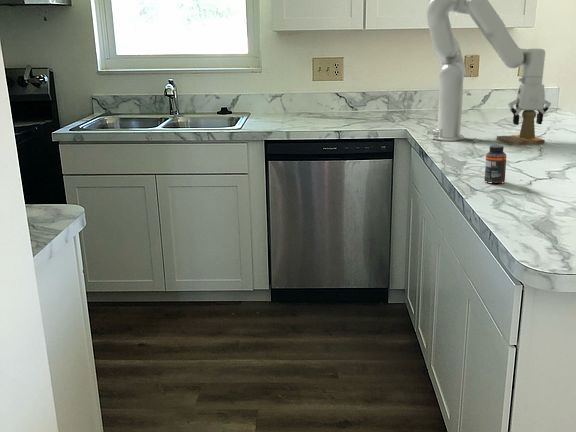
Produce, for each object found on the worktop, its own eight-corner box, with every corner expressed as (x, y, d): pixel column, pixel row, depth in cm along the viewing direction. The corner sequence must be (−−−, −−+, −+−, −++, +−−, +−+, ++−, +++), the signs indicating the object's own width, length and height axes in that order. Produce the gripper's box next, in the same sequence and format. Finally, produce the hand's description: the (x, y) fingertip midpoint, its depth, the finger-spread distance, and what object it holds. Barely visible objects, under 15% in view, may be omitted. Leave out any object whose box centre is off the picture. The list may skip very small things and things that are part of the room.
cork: (525, 139, 250) (527, 111, 247) (515, 136, 255) (518, 109, 252) (538, 138, 251) (540, 110, 248) (528, 135, 257) (531, 108, 254)
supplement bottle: (500, 179, 194) (503, 143, 191) (507, 184, 189) (510, 147, 185) (481, 180, 194) (483, 144, 191) (487, 185, 188) (490, 148, 185)
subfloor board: (510, 145, 247) (510, 141, 246) (496, 139, 259) (496, 135, 259) (544, 143, 248) (544, 139, 248) (528, 138, 260) (529, 134, 260)
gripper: (515, 82, 242) (511, 126, 247) (557, 81, 244) (552, 125, 249) (506, 80, 249) (502, 123, 255) (548, 79, 251) (543, 122, 256)
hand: (527, 124), depth 252 cm, fingers open, 9 cm apart
